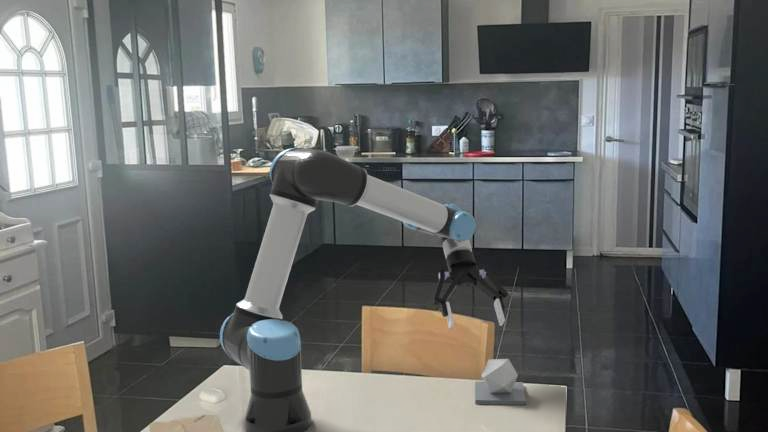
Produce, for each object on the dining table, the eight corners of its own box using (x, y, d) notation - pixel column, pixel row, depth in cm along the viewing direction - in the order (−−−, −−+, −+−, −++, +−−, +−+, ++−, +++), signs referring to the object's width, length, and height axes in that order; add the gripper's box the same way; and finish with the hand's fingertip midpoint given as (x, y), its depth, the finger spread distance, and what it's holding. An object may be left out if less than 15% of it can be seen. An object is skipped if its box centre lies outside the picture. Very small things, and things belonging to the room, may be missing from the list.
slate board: (475, 403, 188) (475, 399, 188) (475, 385, 200) (475, 381, 200) (525, 404, 187) (525, 400, 186) (522, 385, 198) (522, 382, 198)
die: (508, 402, 187) (527, 367, 189) (477, 384, 188) (495, 349, 190) (502, 401, 195) (520, 367, 197) (472, 384, 196) (490, 350, 198)
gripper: (417, 250, 206) (433, 321, 194) (506, 245, 211) (527, 314, 199) (412, 265, 212) (427, 335, 199) (499, 260, 217) (518, 328, 205)
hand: (477, 325), depth 199 cm, fingers open, 13 cm apart
